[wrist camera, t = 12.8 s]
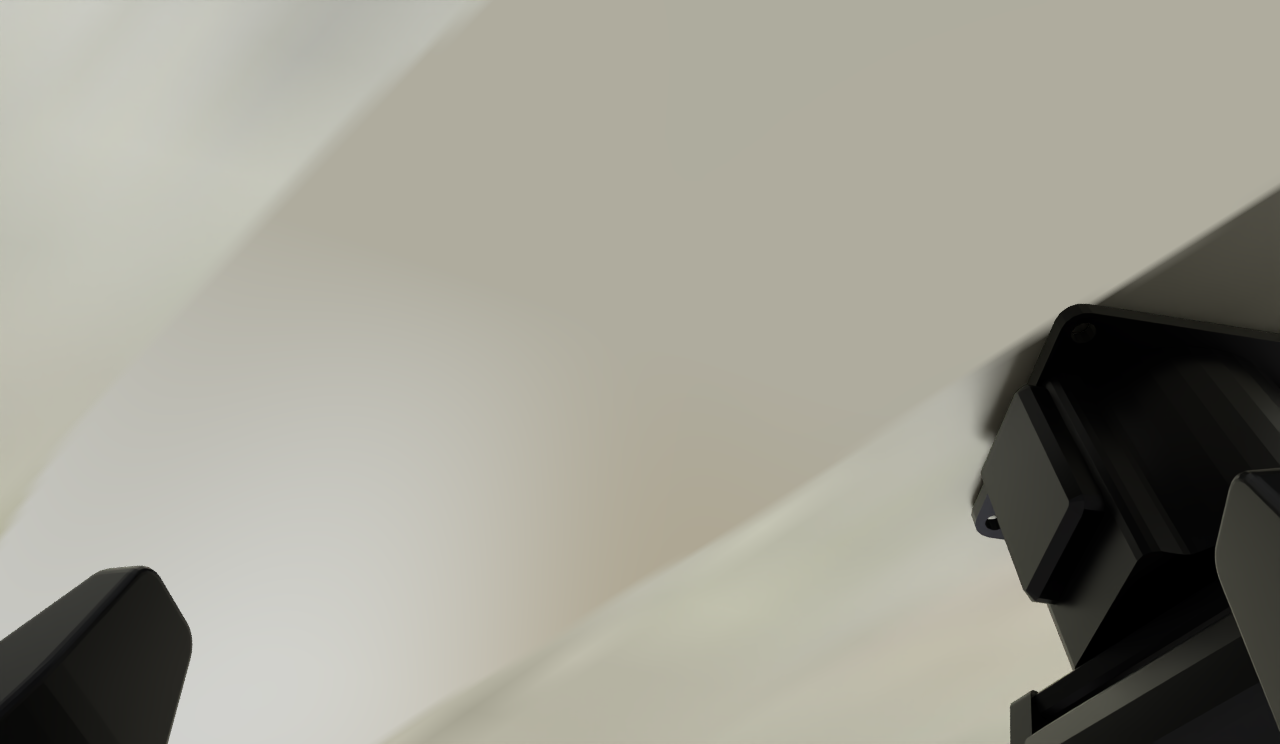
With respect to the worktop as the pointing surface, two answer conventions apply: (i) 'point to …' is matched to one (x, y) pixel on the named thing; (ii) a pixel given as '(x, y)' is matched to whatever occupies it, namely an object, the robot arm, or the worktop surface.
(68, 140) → the worktop surface
